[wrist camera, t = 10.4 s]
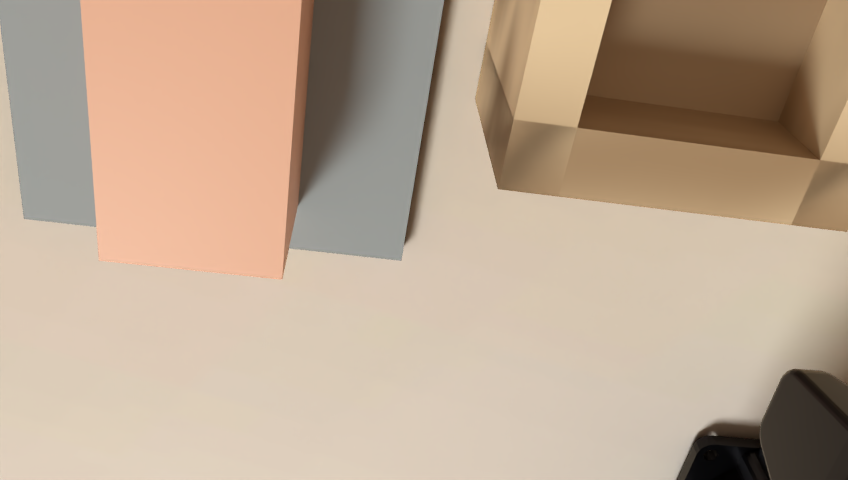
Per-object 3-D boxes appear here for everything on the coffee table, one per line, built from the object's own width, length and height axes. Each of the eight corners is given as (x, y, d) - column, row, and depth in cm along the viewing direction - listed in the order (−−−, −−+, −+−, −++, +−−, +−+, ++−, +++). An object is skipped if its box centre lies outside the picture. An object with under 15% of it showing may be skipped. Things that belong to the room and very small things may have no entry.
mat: (401, 249, 22) (401, 260, 22) (32, 208, 21) (24, 219, 21) (463, -137, 17) (466, -134, 17) (-16, -218, 16) (-29, -217, 16)
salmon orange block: (298, 205, 21) (282, 279, 18) (142, 187, 20) (99, 260, 17) (327, -177, 16) (312, -164, 13) (127, -210, 16) (66, -205, 13)
